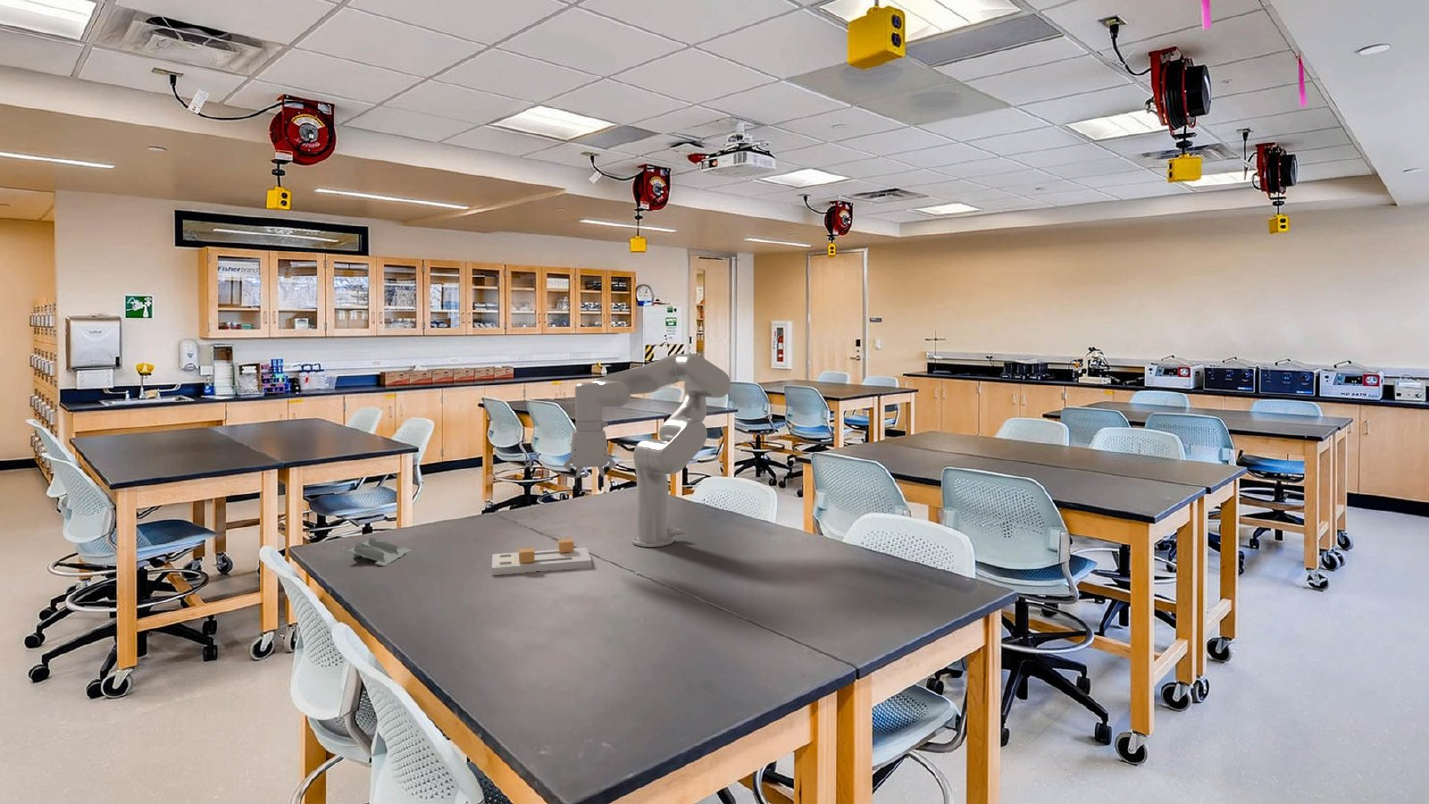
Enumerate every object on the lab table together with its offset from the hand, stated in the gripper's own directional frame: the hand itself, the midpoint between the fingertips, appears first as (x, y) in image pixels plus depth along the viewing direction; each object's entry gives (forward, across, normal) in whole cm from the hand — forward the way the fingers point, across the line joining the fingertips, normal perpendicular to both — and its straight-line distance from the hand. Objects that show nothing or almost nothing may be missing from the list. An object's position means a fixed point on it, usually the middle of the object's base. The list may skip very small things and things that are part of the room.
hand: (590, 489), depth 216 cm
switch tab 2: (+17, +7, 0) cm, 18 cm away
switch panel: (+19, +14, +4) cm, 24 cm away
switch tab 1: (+17, +18, +7) cm, 26 cm away
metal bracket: (+20, +58, -15) cm, 64 cm away
